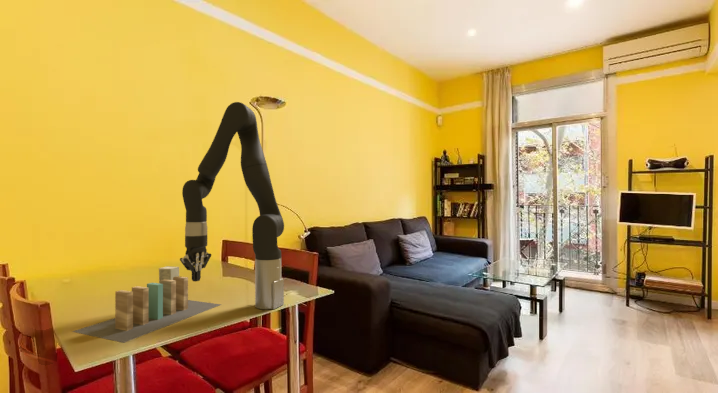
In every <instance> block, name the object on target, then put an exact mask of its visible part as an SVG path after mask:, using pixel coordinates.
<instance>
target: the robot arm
mask: <svg viewBox="0 0 718 393" xmlns="http://www.w3.org/2000/svg"><path fill="white" fill-rule="evenodd" d="M221 118H222V119H221V121H220V124H219V126H218V128H217V130H216V133H215V136H214V137H213V140H212V142H211V144H210V146H209V148H208V150H206V151H207V152H206V153H205V155H204V156H203V158H202V159H201V161H200V163H199V165H198V167H197V172H198V175H197V177H196V179H190V180H189V179H188V180H187V181H186V182H185V183H184V184H183V187H182V191H181V192H182V194H181V195H182V200H183V204H184V205H183V206H184V208H185V226H184V228H185V229H184V233H185V234H184V247H185V248H186V250H185V255H184V256H183V257H180V258H179V261H180V263H181V264H182V265H183V267H184V268H185V269H186V270H187V271H190V272H191V281H192V282H199V281H201V279H202V278H201V277H202V276H201V274H202V272H201V271H202V270H203V269H205V268H206V266H207V265H208V262H209V261H210V259H211V257H212V254H211V253H209V252H208V249H207V246H208V222H207V221H208V212H207V208H206V206H204V204H203V199H205V198H207V197H208V196H209V194H210V193H211V191H212V189H213V186H214V183H215V181H216V179H217V178H216V177H217V176H218V174H219V173H220V171H221V169H222V168H223V166H224V164H225V163H226V160H227V157H228V155H229V154H228V153H229V150H230V145H231V143H232V140H233V139H234V137H235V136H236V134H237V135H238V138H239V142H240V148H241V151H240V152H241V153H240V168H241V171H242V172H241V173H242V176H243V180H244V183H245V185H246V187H247V190H248V191H249V192H250V194H251V196H252V197H253V199H254V200H255V202H256V204H257V207H258V212H259V216H257V217H256V218H255V219H254V220H253V223H252V230H251V231H252V232H251V235H252V250H253V252H254V257H255V259H254V260H255V262H254V263H255V264H254V265H255V267H254V271H255V272H254V275H255V276H254V278H255V280H254V284H255V285H254V288H255V289H254V290H255V291H254V293H255V294H254V296H255V298H254V299H255V300H254V302H255V304H254V306H255V308H257V309H260V310H275V309H277V308H279V307H282V306H284V305H285V303H284V302H285V298H284V297H285V295H284V294H285V288H284V286H285V284H284V282H285V279H284V278H283V277H282V250H281V249H280V248H279V247H278V238H279V237H280V236H281V235H282V234H283V233H284V230H285V222H284V218H283V216H282V214H281V211H280V209H279V205H278V202H277V200H276V197H275V192H274V189H273V184H272V180H271V175H270V172H269V171H270V170H269V168H268V164H267V161H266V157H265V154H264V151H263V146H262V143H261V141H260V135H259V130H258V129H259V128H258V122H257V116H256V114H255V112H254V111H253V109H251V108H250V107H249V106H247V105H246V104H244V103H242V102H239V101H234V102H232V103H230V104H229V105H228V106H227V107H226V109H225V111H224V113H223V115H222V117H221Z"/></svg>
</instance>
